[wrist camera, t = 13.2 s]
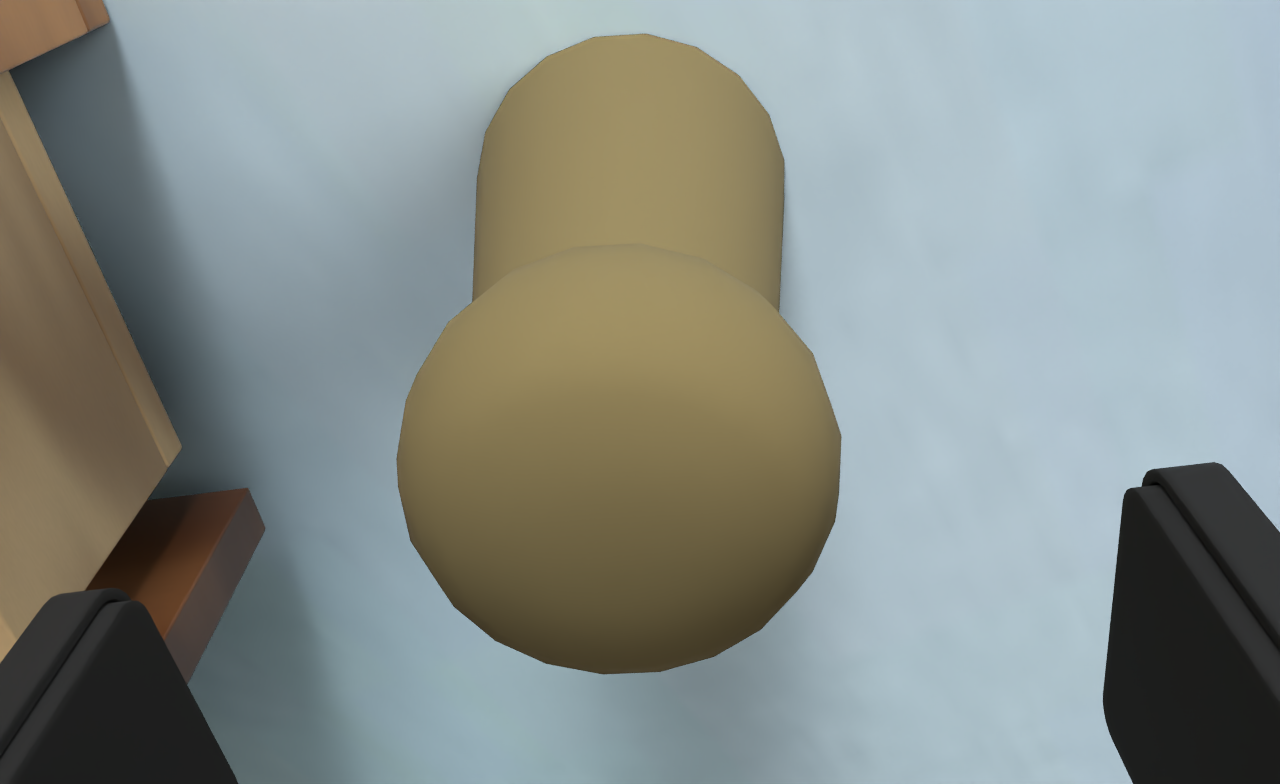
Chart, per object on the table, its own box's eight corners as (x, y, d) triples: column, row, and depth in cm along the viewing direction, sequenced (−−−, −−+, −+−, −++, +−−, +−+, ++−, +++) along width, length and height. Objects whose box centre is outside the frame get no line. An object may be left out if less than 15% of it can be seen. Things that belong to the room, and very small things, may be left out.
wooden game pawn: (759, -2, 18) (875, 237, 9) (806, 298, 21) (929, 712, 12) (435, 73, 19) (228, 368, 10) (525, 353, 22) (434, 785, 13)
